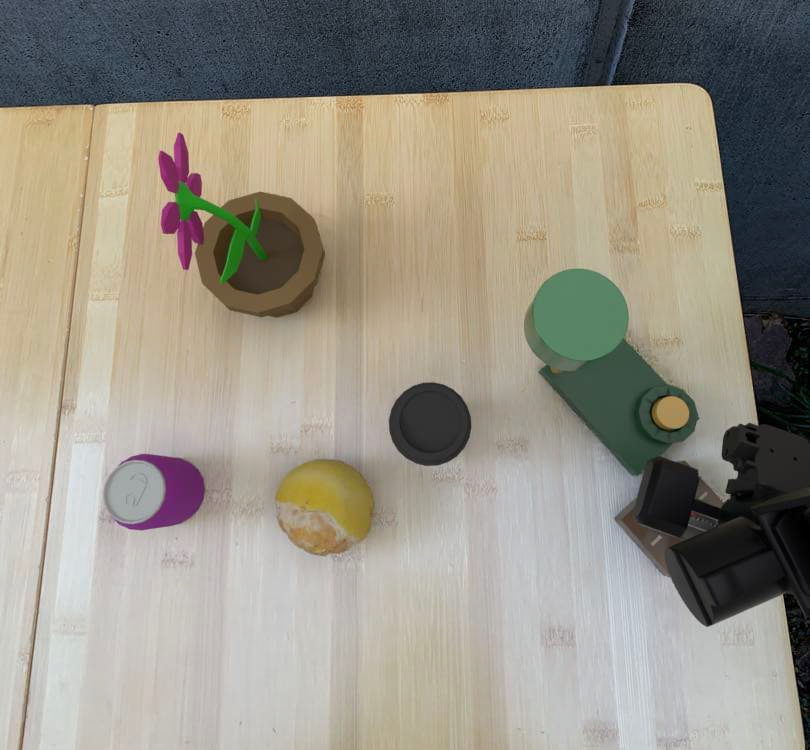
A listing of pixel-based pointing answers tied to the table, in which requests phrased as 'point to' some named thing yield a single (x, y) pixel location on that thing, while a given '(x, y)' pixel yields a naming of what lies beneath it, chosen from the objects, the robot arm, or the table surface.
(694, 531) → the dimmer knob
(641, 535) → the dimmer panel
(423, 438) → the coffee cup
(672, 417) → the lamp switch
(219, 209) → the flowerpot
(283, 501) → the fruit
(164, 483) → the beverage can
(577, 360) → the green short cylinder
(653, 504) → the robot arm
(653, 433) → the lamp base
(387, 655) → the table surface
